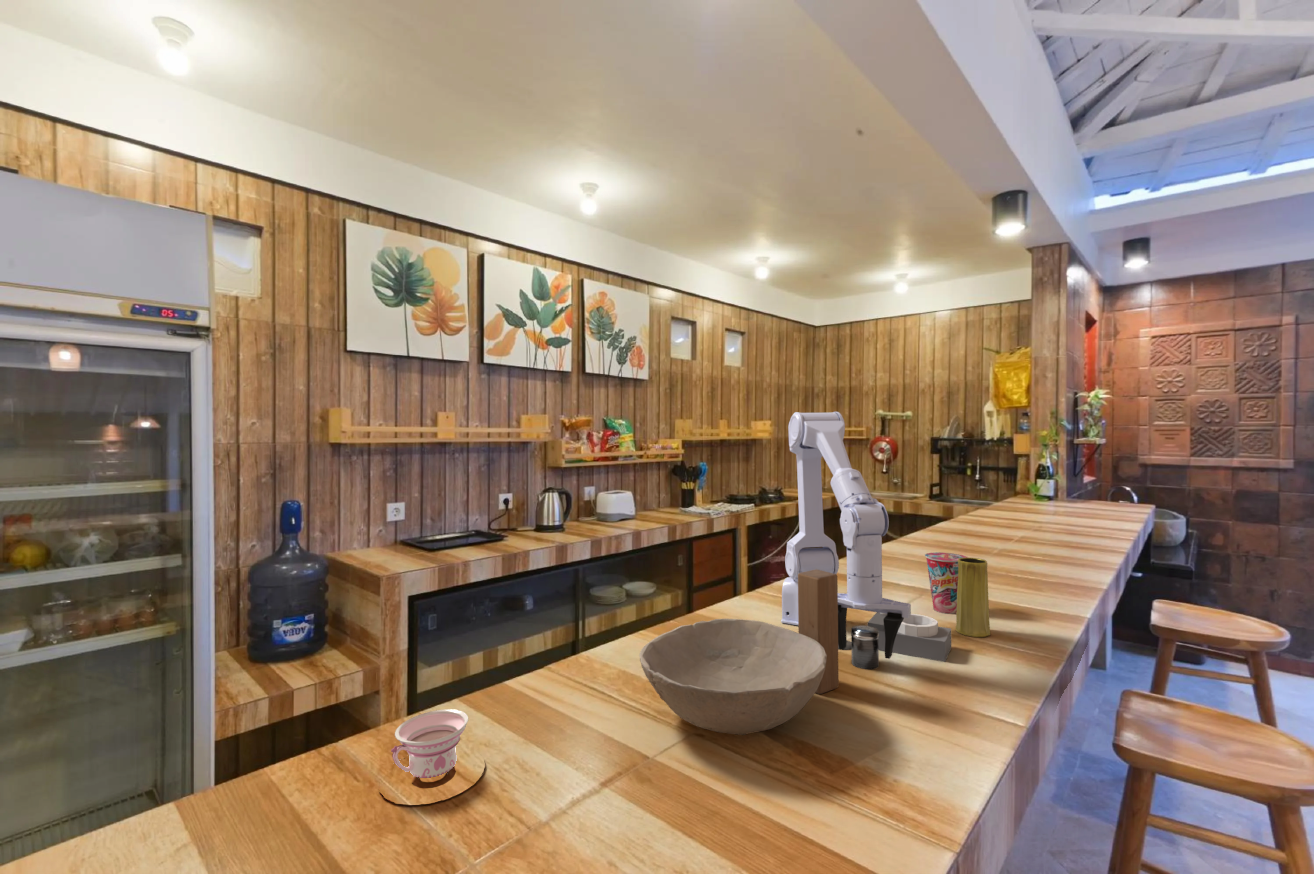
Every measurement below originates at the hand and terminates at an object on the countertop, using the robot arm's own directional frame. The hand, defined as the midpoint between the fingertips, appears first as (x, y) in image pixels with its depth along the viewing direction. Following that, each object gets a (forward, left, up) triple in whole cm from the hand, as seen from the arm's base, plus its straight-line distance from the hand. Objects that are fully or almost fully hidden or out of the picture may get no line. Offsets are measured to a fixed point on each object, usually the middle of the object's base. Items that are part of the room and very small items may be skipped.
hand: (865, 652), depth 104 cm
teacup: (-35, -60, -3) cm, 70 cm away
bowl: (-11, -29, -2) cm, 31 cm away
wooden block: (-6, -12, -2) cm, 14 cm away
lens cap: (-6, +7, -3) cm, 10 cm away
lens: (0, 0, -2) cm, 2 cm away
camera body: (+5, +12, -2) cm, 13 cm away
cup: (+8, +40, -2) cm, 41 cm away
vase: (+14, +27, -2) cm, 31 cm away
